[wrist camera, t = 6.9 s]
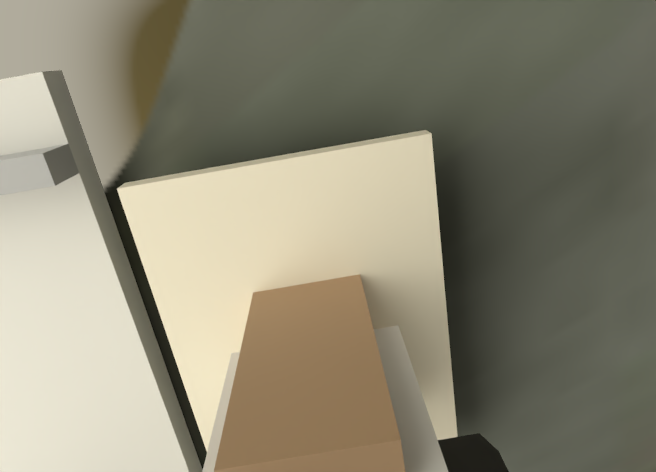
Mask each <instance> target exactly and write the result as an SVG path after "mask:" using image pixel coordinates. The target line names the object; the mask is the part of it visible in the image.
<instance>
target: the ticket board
mask: <svg viewBox="0 0 656 472" xmlns="http://www.w3.org/2000/svg"><path fill="white" fill-rule="evenodd" d="M202 471H203V470H202V467H201V464H200V461H199V459H198V456H197V453H196V450H195V447H194V444H193V442H192V439H191V436H190V433H189V430H188V427H187V425H186V422H185V419H184V416H183V413H182V410H181V408H180V405H179V402H178V399H177V396H176V393H175V391H174V388H173V385H172V382H171V379H170V376H169V374H168V371H167V368H166V365H165V362H164V359H163V357H162V354H161V351H160V348H159V345H158V342H157V340H156V337H155V334H154V331H153V328H152V325H151V323H150V320H149V317H148V314H147V311H146V308H145V306H144V303H143V300H142V297H141V294H140V291H139V289H138V286H137V283H136V280H135V277H134V274H133V272H132V269H131V266H130V263H129V260H128V257H127V255H126V252H125V249H124V246H123V243H122V241H121V238H120V235H119V232H118V229H117V226H116V224H115V221H114V218H113V215H112V212H111V209H110V207H109V204H108V201H107V198H106V195H105V192H104V190H103V187H102V184H101V181H100V178H99V176H98V173H97V170H96V167H95V164H94V162H93V158H92V156H91V153H90V150H89V147H88V144H87V142H86V139H85V136H84V133H83V130H82V128H81V124H80V122H79V119H78V116H77V113H76V110H75V107H74V105H73V102H72V99H71V96H70V93H69V90H68V88H67V85H66V82H65V79H64V76H63V73H62V71H46V72H38V73H32V74H27V75H22V76H16V77H10V78H5V79H0V472H202Z"/></svg>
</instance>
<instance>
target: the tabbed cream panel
mask: <svg viewBox="0 0 656 472" xmlns="http://www.w3.org/2000/svg"><path fill="white" fill-rule="evenodd" d="M117 191H118V194H119V197H120V200H121V203H122V206H123V209H124V212H125V214H126V217H127V220H128V223H129V226H130V229H131V232H132V235H133V238H134V241H135V244H136V247H137V249H138V252H139V255H140V258H141V261H142V264H143V267H144V270H145V273H146V276H147V279H148V282H149V285H150V287H151V290H152V293H153V296H154V299H155V302H156V305H157V308H158V311H159V314H160V317H161V320H162V323H163V325H164V328H165V331H166V334H167V337H168V340H169V343H170V346H171V349H172V352H173V355H174V358H175V361H176V363H177V366H178V369H179V372H180V375H181V378H182V381H183V384H184V387H185V390H186V393H187V396H188V399H189V401H190V404H191V407H192V410H193V413H194V416H195V419H196V422H197V425H198V428H199V431H200V434H201V436H202V439H203V442H204V445H205V448H206V451H208V447H209V442H210V438H211V434H212V430H213V426H214V422H215V418H216V414H217V410H218V406H219V402H220V398H221V394H222V390H223V386H224V382H225V378H226V374H227V370H228V365H229V361H230V357H231V353H236V352H240V354H239V359H238V363H237V368H236V372H235V377H234V381H233V386H232V391H231V395H230V400H229V404H228V409H227V413H226V418H225V422H224V427H223V431H222V436H221V440H220V445H219V449H218V454H217V459H216V463H215V468H214V472H405V466H404V459H403V452H402V445H401V439H400V435H399V431H398V427H397V422H396V418H395V414H394V410H393V406H392V402H391V398H390V394H389V390H388V386H387V382H386V378H385V374H384V370H383V366H382V362H381V358H380V354H379V350H378V346H377V342H376V337H375V333H374V329H379V328H385V327H391V326H397V325H398V326H399V329H400V332H401V335H402V337H403V340H404V343H405V346H406V349H407V352H408V355H409V358H410V361H411V364H412V367H413V370H414V373H415V375H416V378H417V381H418V384H419V387H420V390H421V393H422V396H423V399H424V402H425V405H426V408H427V411H428V414H429V416H430V419H431V422H432V425H433V428H434V431H435V434H436V437H437V440H442V439H448V438H454V437H458V436H457V424H456V413H455V401H454V390H453V378H452V366H451V355H450V343H449V331H448V320H447V308H446V297H445V285H444V273H443V262H442V250H441V238H440V227H439V215H438V204H437V192H436V180H435V169H434V157H433V145H432V134H431V133H430V132H428V131H427V130H422V131H417V132H411V133H405V134H400V135H394V136H388V137H382V138H377V139H371V140H365V141H360V142H354V143H348V144H343V145H337V146H331V147H326V148H320V149H314V150H308V151H303V152H297V153H291V154H286V155H280V156H274V157H269V158H263V159H257V160H252V161H246V162H240V163H235V164H229V165H223V166H217V167H212V168H206V169H200V170H195V171H189V172H183V173H178V174H172V175H166V176H161V177H155V178H149V179H144V180H138V181H132V182H126V183H124V184H123V185H121V186H120V187H118V188H117Z"/></svg>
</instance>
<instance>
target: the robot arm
mask: <svg viewBox="0 0 656 472" xmlns="http://www.w3.org/2000/svg"><path fill="white" fill-rule="evenodd" d="M374 333H375V337H376V342H377V346H378V350H379V354H380V358H381V362H382V366H383V370H384V374H385V378H386V382H387V386H388V390H389V394H390V398H391V402H392V406H393V410H394V414H395V418H396V422H397V427H398V431H399V435H400V439H401V445H402V452H403V459H404V466H405V472H508V470H507V468H506V466H505V463H504V461H503V459H502V457H501V455H500V453H499V451H498V450H497V449H496V448H494V447H493V446H492V445H491V444H490V443H489V442H488V441H487V440H486V439H485V438H484V437H483V436H482V435H480V434H473V435H467V436H461V437H454V438H448V439H442V440H437V437H436V434H435V431H434V428H433V425H432V422H431V419H430V416H429V414H428V411H427V408H426V405H425V402H424V399H423V396H422V393H421V390H420V387H419V384H418V381H417V378H416V375H415V373H414V370H413V367H412V364H411V361H410V358H409V355H408V352H407V349H406V346H405V343H404V340H403V337H402V335H401V332H400V329H399V326H398V325H397V326H391V327H385V328H379V329H374ZM239 354H240V352H236V353H231V357H230V361H229V365H228V370H227V374H226V378H225V382H224V386H223V390H222V394H221V398H220V402H219V406H218V410H217V414H216V418H215V422H214V426H213V430H212V434H211V438H210V442H209V447H208V451H207V455H206V459H205V463H204V467H203V471H202V472H214V468H215V463H216V459H217V454H218V449H219V445H220V440H221V436H222V431H223V427H224V422H225V418H226V413H227V409H228V404H229V400H230V395H231V391H232V386H233V381H234V377H235V372H236V368H237V363H238V359H239Z"/></svg>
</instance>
